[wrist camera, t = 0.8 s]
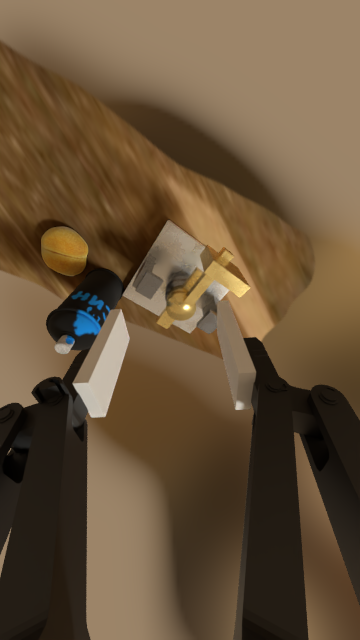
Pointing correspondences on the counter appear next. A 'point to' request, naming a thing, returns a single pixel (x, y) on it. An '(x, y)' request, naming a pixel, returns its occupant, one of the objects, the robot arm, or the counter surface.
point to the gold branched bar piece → (202, 285)
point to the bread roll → (64, 250)
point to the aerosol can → (84, 311)
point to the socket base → (171, 262)
